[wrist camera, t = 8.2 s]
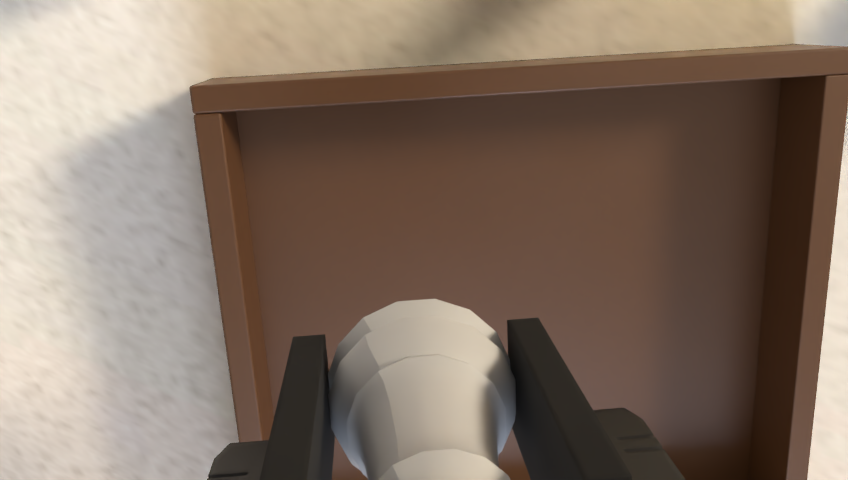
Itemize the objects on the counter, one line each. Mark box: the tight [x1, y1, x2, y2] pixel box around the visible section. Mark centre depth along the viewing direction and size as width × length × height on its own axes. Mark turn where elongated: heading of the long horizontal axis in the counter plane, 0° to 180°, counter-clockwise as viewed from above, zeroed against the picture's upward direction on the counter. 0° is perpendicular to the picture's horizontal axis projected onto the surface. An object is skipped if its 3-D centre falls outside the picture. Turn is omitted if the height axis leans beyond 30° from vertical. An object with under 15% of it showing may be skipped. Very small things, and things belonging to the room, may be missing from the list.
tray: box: [190, 44, 848, 480], centre depth 25 cm, size 18×20×3 cm
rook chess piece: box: [328, 299, 516, 480], centre depth 14 cm, size 4×4×8 cm
